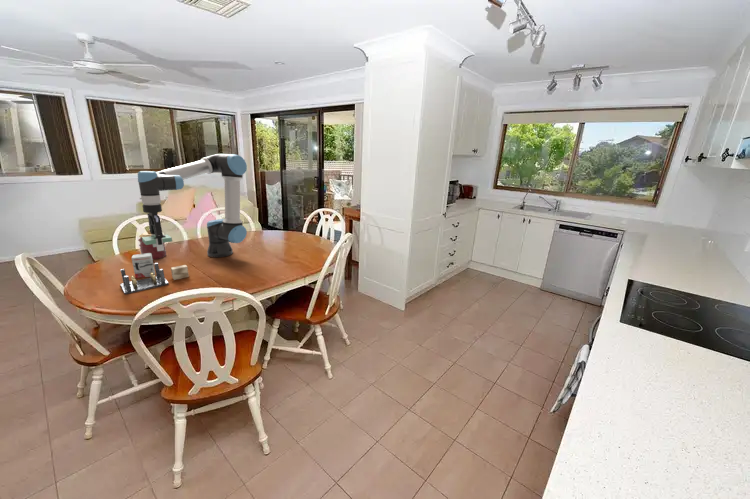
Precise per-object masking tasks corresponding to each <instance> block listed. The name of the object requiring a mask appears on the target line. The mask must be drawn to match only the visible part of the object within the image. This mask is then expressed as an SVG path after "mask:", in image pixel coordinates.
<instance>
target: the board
mask: <svg viewBox="0 0 750 499" xmlns="http://www.w3.org/2000/svg"><path fill="white" fill-rule="evenodd" d="M158 236H159V235H158ZM155 237H156V236H149V237H142V241H143V242H144V243H145V244H146V245H149V244H156V239H154V238H155ZM162 239H163V243H164V244H165V243H171V242H173V237H172V236H171V235H169V234H168V233H167V234H163V238H162Z"/></svg>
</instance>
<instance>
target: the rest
mask: <svg viewBox="0 0 750 499" xmlns="http://www.w3.org/2000/svg"><path fill="white" fill-rule="evenodd" d="M170 271H171V277H172V279H173V281H175V280H181V279H186V278H188V277H190V274H189V268H188V266H187V265H186V264H183V265H177V266H172V267H170Z"/></svg>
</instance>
